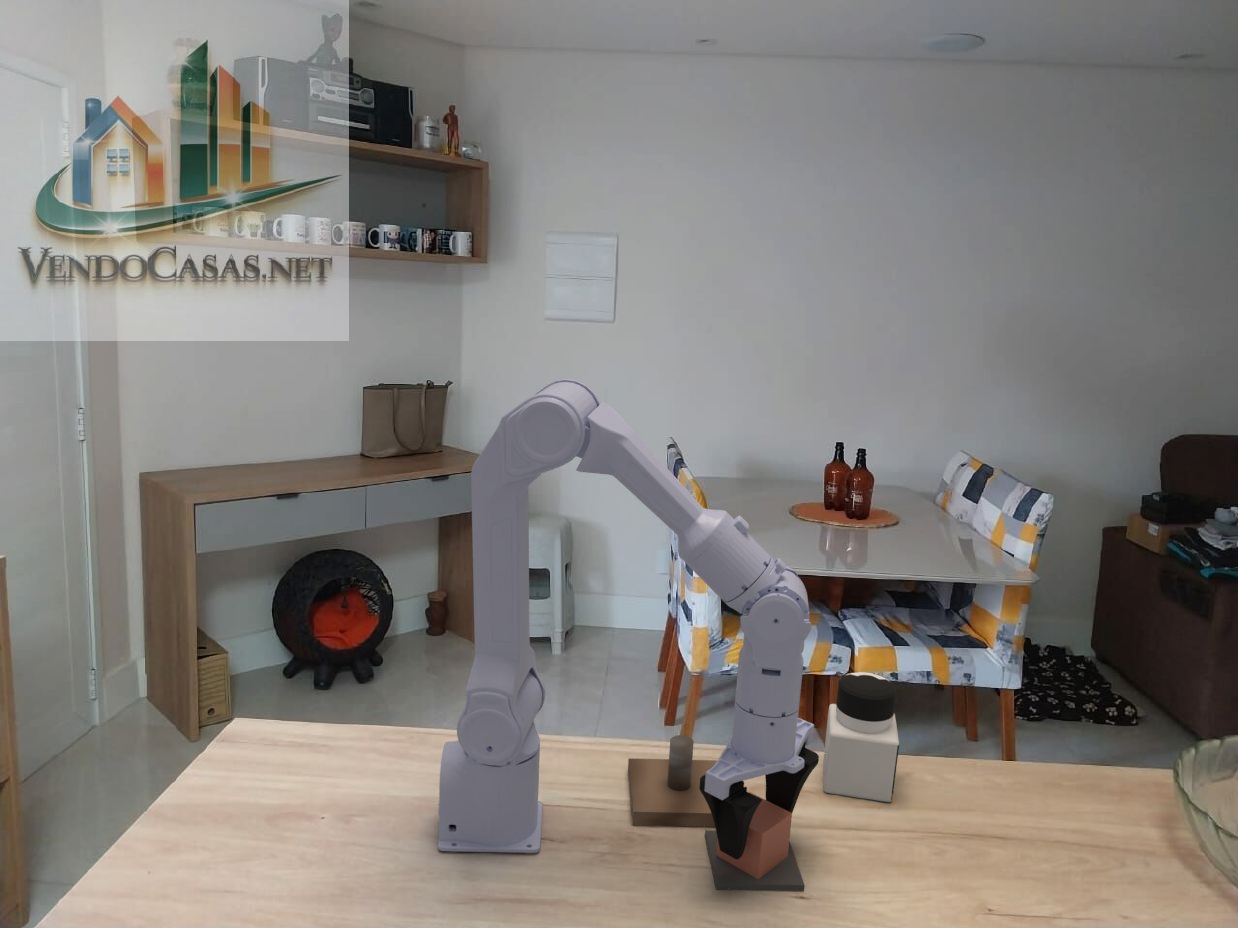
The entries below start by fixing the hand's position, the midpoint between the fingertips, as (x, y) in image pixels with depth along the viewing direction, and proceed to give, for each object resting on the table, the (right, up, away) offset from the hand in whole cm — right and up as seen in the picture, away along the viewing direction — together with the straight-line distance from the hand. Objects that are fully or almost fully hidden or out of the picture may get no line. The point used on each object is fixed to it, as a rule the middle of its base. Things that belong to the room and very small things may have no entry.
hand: (754, 835), depth 91 cm
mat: (0, -3, +1) cm, 3 cm away
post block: (-7, 0, +11) cm, 12 cm away
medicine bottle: (+13, 0, +15) cm, 20 cm away
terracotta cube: (0, -2, +1) cm, 2 cm away
